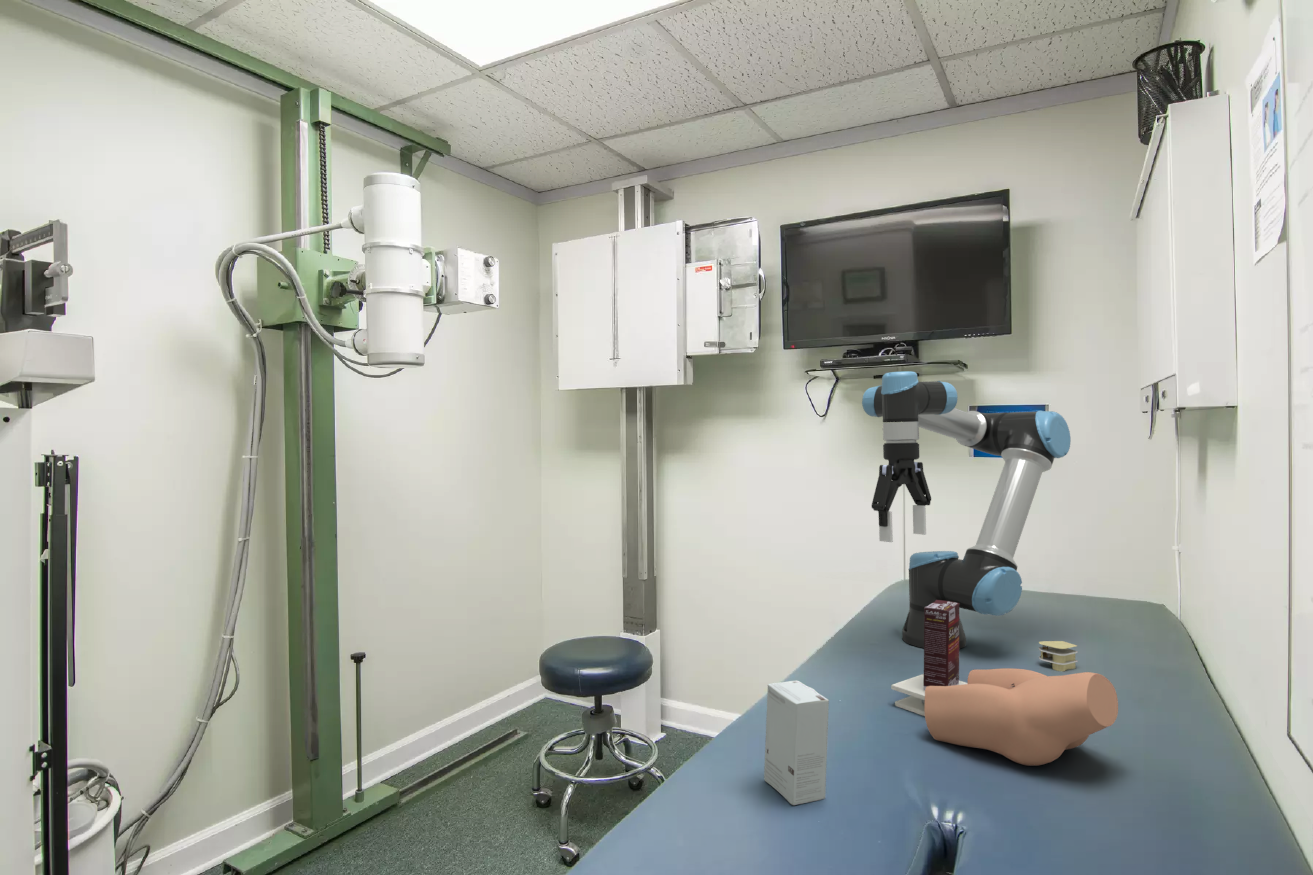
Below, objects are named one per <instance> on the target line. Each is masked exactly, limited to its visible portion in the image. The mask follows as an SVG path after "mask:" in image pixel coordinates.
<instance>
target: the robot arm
mask: <svg viewBox="0 0 1313 875" xmlns="http://www.w3.org/2000/svg"><path fill="white" fill-rule="evenodd" d="M861 401H862V402H861V405H862V408H863V411H864V412H865V413H866V415H868V416H870V417H875V418H876V417H877V418H881V417H882V432H883V433H882V439H883V441H884V442H885V443H884V444H883V446H882V448H883V450H882V451H883V454H882V455H883V460H886V461H888V464H880V465H879V468H878V478H877V482H876V486H875V490H874V493H873V498H872V502H871V509H873V511H874V512H875V511H876V512H878V528H879V529H878V530H879V531H878V535H879V538H878V539H879V542H884V543H893V542H894V540H893V537H894V536H893V511H890V509H891V507H892V504H893V502H894V500H895V497H896V495H897V492H898V491H899V488H900V487H902V485H905V487H906V489H907V491H908V492H909V494H910V496H911V499H912V501H913V503H914V504H913V505H912V526H913V527H912V528H913V529H912V530H913V533H912V534H913V535H923V536H924V535H927V518H926V517H927V516H926V514H927V513H926V506H931V501H932V496H931V493H930V489H929V486H928V483H927V480H926V475H925V472H924V464H923V462H922V461H915V460H918V459H919V458H920V443H919V442H917V441H918V440H920V428H921V429H925V430H927V431H930V432H933V433H936V434H940V435H943V436H944V437H945V436H946V437H949V438H952V439H954V440H956V442H958V444H960V445H962V446H963V447H967V448H970V449H973V450H977V451H980V452H982V453H986V454H988V455H989V454H990V455H992V456H998V457H999V456H1000V457H1001V458H1002V459H1003V461H1004V465H1003V467H1002V470H1001V473H1000V476H999V478H998V481H997V484H996V487H995V491H994V492H993V495H992V499H991V501H990V503H989V506H988V509H987V512H986V515H985V518H984V520H983V523H982V526H981V529H980V531H979V535H978V537H977V540H976V542H975V544H974V545H973V546H971V547H968V548H967V549H966V551H965V554H964V556H963V559H960V557H959V554H958V552H957V551H953V550H936V551H932V550H931V551H923V552H922V551H919V552H915V553H913V554H911V556H910V557H909V563H908V564H909V566H908V590H909V591H908V592H909V593H908V598H909V599H908V600H909V610H908V612H907V616H906V619H905V621H904V625H903V627H902V630H901V632H902V636H901V637H902V640H903V641H904V642H905V643H906V644H908V645H911V646H914V647H917V648H923V649H924V608H925V607H927V606H928V605H930V604H932V603H933V602H935V601H936V600H942V601H950V602H956V603H959V609H964V610H968V611H972V612H975V613H976V612H977V613H979V614H980V615H990V616H995V617H996V616H997V617H999V616H1003V615H1005V614H1008V613H1009V612H1011V611H1013V609H1014V608H1015V607H1016V606H1017V605H1018V602H1019V601H1020V598H1021V595H1022V592H1023V586H1022V584H1023V581H1022V576H1021V575H1020V573H1019V572H1018V571H1017V570H1018V565H1017V563H1016V561H1015V559H1014V557H1015V554H1016V551H1017V548H1018V544H1019V542H1020V539H1021V536H1022V533H1023V530H1024V526H1025V524H1026V521H1027V519H1028V515H1029V512H1030V509H1031V507H1032V503H1033V501H1034V497H1035V494H1036V492H1037V489H1038V487H1039V482H1040V480H1041V477H1042V475H1043V473H1045V472H1047V471H1050V469H1051V470H1052V466H1053V463H1054V460H1055V459H1060V458H1064V457H1065V456H1066V455H1068V453H1069V451H1070V448H1071V431H1070V429H1069V428H1070V427H1069V425H1068V423H1067V421H1066V420H1065V418H1064V417H1063V415H1061V414H1060V413H1058V412H1056V411H1049V410H1047V411H1046V410H1045V411H1044V410H1038V411H1016V412H990V413H988V412H986V413H985V412H979V411H977V410H968V411H965V410H962V409H959V408H956V406H957V403H958V392H957V389H956V388H955V386H954V385H953V384H952V383H949V382H947V381H941V380H937V381H935V380H934V381H932V380H931V381H919V379H918V374H917V373H916V372H915V371H910V370H909V371H908V370H907V371H891V372H885V373H884V374H883V375H882V377H881V385H876V386H873V387H869V388H867V389H866V390H865V391H864V392H863V395H862V400H861ZM966 646H967V635H966V633H965V630H964V627H963V623H962V621H961V618H960V617H959V650H961V649H964V648H965V647H966Z"/></svg>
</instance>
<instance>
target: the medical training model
mask: <svg viewBox="0 0 1313 875" xmlns="http://www.w3.org/2000/svg"><path fill="white" fill-rule="evenodd" d="M967 683H968V684H964V685H953V686H927V687H926V689H925V706H924V709H925V716H924V717H925V718H924V719H925V723H926V727H927V729H928V732H929V734H930V735H931V737H933V739H934V740H936V741H938V742H943V743H948V744H952V745H956V746H962V747H967V748H975V749H983V750H988V751H991V752H994V753H997V754H999V755H1002V756H1004V757H1005V758H1007V759H1008V760H1010V761H1012V762H1014V763H1017V764H1020V765H1023V766H1028V767H1029V766H1031V767H1032V766H1033V767H1035V766H1037V767H1038V766H1042V765H1043V766H1044V765H1045V764H1048V763H1053V761H1055V760H1057V759H1059V757H1061V755H1062V754H1063V753H1064V751H1065V750H1066V751H1067V750H1071V749H1074V748H1075V749H1076V748H1077V747H1079V746H1081V745H1083V744H1084V743H1085V742H1086V741H1087V740H1088V738H1089V737H1090V736H1091V735H1092V734H1095V733H1097V732H1099V731H1102V730H1104V729H1107V728H1108V727H1111V726H1113V724H1114V723H1115V722H1116V720H1117V718H1118V714H1119V700H1118V695H1117V691H1116V688H1115V686H1114V685H1113V683H1112V682H1111V681H1110V680H1109V679H1108V678H1106V676H1105V675H1103V674H1101V673H1095V672H1091V671H1089V672H1088V671H1085V672H1077V673H1071V674H1064V675H1050V676H1048V675H1046V674H1043V673H1040V672H1037V671H1034V670H1031V669H1022V668H1011V667H1010V668H1007V667H1006V668H1005V667H1004V668H993V669H992V668H990V669H972V670H970V671H969V673H968V676H967Z"/></svg>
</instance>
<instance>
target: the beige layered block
mask: <svg viewBox="0 0 1313 875" xmlns="http://www.w3.org/2000/svg"><path fill="white" fill-rule="evenodd" d="M1038 643H1039V644H1040V645H1042V646H1040V647H1038V650H1039V652H1040V655H1038V658H1039V660H1040V661H1043V662H1048V663H1050V666H1052V670H1053V671H1056V672H1065V671H1067V670H1068V671H1069V670H1073V669H1074V670H1075V669H1076V663H1078V659H1076V654H1078V653H1079V652H1078V651H1077V650H1075V649H1071V648H1074V647H1078V644H1077V645H1076V644H1074V643H1070V642H1067V641H1063V640H1054V641H1052V640H1048V641H1046V640H1043V641H1038Z"/></svg>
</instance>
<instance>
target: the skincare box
mask: <svg viewBox="0 0 1313 875" xmlns="http://www.w3.org/2000/svg"><path fill="white" fill-rule="evenodd" d="M766 694H767V695H766V696H767V699H766V721H765V722H766V723H765V747H764V766H763V768H764V771H763V772H764V773H763V774H764V775H763V779H764V781H765V782H766V783H767V784H769V785H770V786H771V787H772V788H773V789H774V790H775V791H776V792H778V793H779V794H780V795H781V796H782V797H783V798H784V799H785V800H786V801H787V802H788V803H789V804H790V805H792V806H796V805H798V806H799V805H802V804H807V803H811V802H812V803H813V802H816V801H821V800H825V799H826V790H827V789H826V787H827V785H826V783H827V758H828V757H827V756H828V733H829V732H828V730H829V727H828V726H829V710H830V708H829V706H830V700H829V699H828V698H826V697H825V696H824V695H822V694H821V693H818V692H817V691H816V689H814V688H813V687H810V686H807V685H806V684H804V683H803V682H801V681H799V680H789V681H781V682H772V683H767V693H766Z"/></svg>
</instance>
